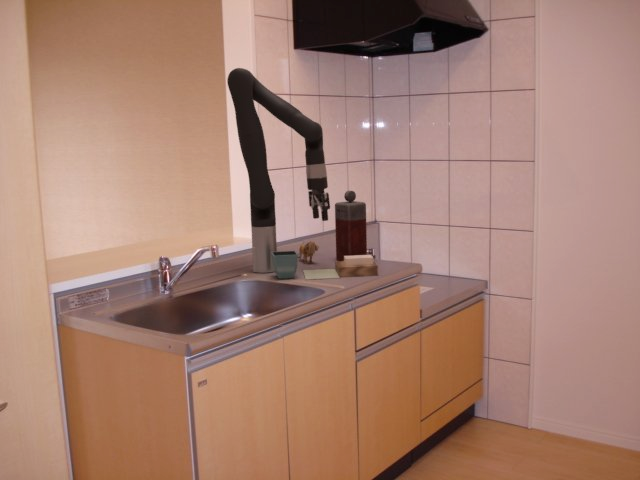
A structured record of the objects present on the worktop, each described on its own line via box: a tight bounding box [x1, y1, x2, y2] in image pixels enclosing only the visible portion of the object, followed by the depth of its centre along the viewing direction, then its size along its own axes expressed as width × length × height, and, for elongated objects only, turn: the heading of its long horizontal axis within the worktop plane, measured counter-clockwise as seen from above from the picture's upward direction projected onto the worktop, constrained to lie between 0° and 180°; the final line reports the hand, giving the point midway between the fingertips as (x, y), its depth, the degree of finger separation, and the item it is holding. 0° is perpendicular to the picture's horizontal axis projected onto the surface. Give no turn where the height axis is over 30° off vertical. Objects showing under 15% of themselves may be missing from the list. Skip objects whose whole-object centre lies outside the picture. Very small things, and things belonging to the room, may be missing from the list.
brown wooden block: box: [334, 260, 379, 278], centre depth 264 cm, size 14×12×4 cm
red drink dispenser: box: [334, 190, 368, 261], centre depth 287 cm, size 9×11×28 cm
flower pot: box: [271, 250, 299, 280], centre depth 259 cm, size 9×9×9 cm
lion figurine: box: [298, 241, 320, 265], centre depth 288 cm, size 15×5×9 cm, turn 29°
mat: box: [302, 268, 341, 281], centre depth 263 cm, size 12×16×1 cm
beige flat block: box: [344, 254, 374, 266], centre depth 263 cm, size 10×6×2 cm, turn 95°
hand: (320, 219), depth 269 cm, fingers open, 8 cm apart
